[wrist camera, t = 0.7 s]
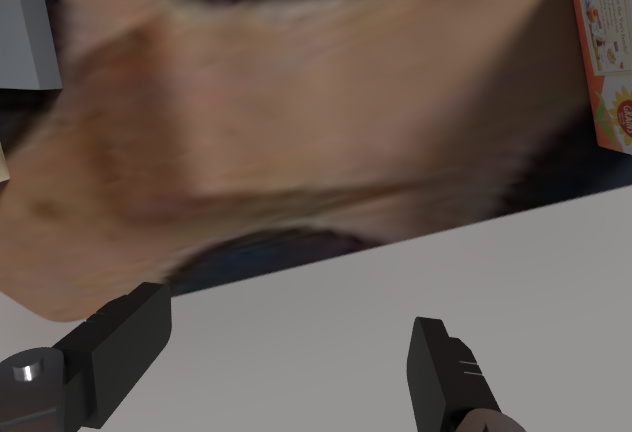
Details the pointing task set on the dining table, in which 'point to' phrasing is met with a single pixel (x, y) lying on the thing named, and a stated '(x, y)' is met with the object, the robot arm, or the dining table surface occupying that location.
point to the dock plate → (27, 47)
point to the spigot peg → (3, 167)
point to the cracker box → (608, 68)
